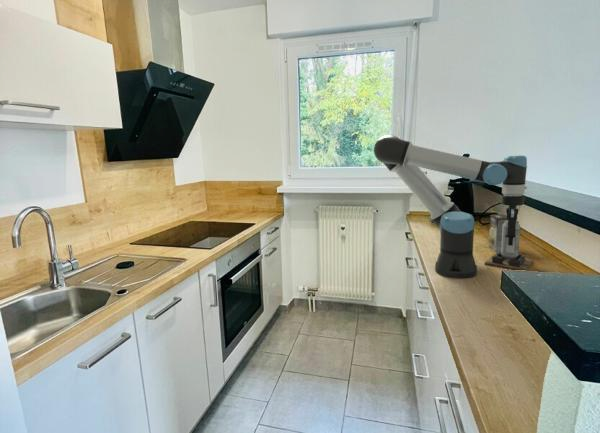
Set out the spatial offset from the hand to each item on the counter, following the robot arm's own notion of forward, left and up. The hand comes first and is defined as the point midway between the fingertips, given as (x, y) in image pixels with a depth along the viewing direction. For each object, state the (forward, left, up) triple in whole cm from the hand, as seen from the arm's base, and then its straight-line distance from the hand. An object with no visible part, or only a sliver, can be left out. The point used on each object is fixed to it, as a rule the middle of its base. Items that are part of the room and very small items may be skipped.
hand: (509, 250), depth 130 cm
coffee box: (+14, +16, -6) cm, 22 cm away
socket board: (0, 0, -6) cm, 6 cm away
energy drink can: (0, 0, -3) cm, 3 cm away
